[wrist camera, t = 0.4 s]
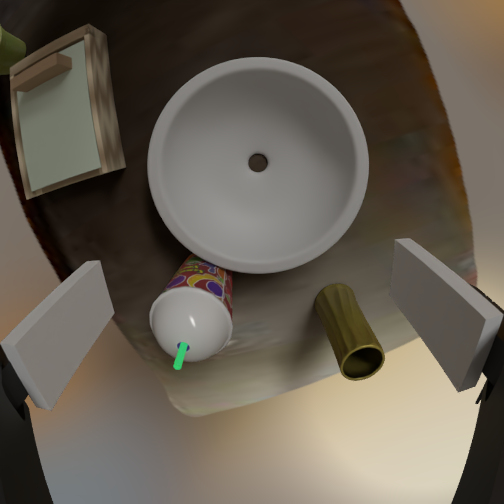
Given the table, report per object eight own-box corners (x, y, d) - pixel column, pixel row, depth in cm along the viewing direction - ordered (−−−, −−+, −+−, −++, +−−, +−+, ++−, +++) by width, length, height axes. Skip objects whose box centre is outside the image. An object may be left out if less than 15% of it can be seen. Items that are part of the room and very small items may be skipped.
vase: (358, 310, 44) (391, 371, 31) (321, 325, 45) (342, 390, 32) (348, 276, 43) (384, 333, 29) (309, 292, 43) (330, 355, 30)
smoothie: (204, 228, 40) (164, 304, 21) (251, 269, 42) (249, 367, 23) (166, 270, 42) (113, 362, 24) (211, 307, 44) (188, 412, 25)
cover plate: (21, 77, 28) (0, 74, 24) (88, 42, 28) (69, 32, 23) (36, 190, 34) (15, 197, 30) (105, 166, 33) (86, 170, 29)
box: (31, 72, 31) (9, 67, 26) (106, 34, 31) (88, 23, 25) (48, 191, 38) (26, 199, 33) (126, 167, 37) (108, 171, 32)
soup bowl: (226, 284, 43) (222, 308, 37) (130, 136, 36) (109, 136, 30) (379, 200, 39) (400, 211, 33) (291, 40, 32) (299, 22, 26)
